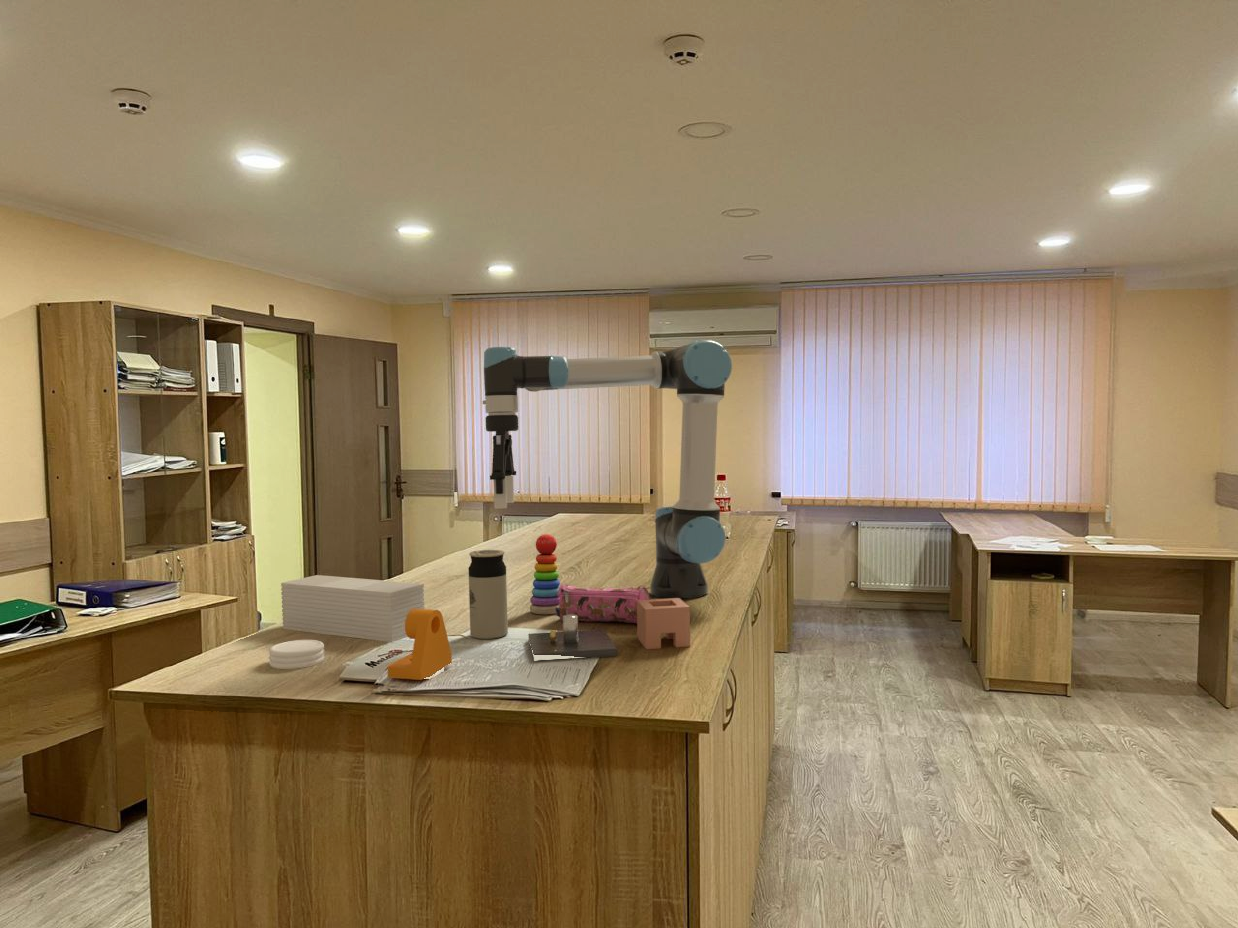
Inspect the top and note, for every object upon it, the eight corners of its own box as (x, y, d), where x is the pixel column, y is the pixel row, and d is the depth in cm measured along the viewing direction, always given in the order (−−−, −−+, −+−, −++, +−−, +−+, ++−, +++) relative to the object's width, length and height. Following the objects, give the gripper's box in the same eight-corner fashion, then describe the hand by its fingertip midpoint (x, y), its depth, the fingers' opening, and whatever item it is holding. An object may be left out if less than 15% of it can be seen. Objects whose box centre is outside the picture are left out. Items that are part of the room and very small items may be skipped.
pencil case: (552, 625, 191) (551, 586, 190) (567, 616, 200) (566, 578, 199) (644, 629, 185) (643, 589, 184) (655, 620, 193) (654, 581, 193)
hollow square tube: (679, 635, 178) (678, 597, 178) (690, 646, 169) (689, 606, 169) (637, 638, 177) (636, 600, 176) (646, 649, 168) (645, 609, 167)
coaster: (296, 654, 170) (295, 637, 170) (335, 658, 167) (335, 641, 166) (257, 667, 161) (257, 649, 161) (298, 672, 157) (297, 654, 157)
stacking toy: (558, 615, 199) (556, 536, 198) (525, 614, 201) (523, 536, 200) (566, 608, 207) (564, 532, 206) (535, 607, 209) (533, 532, 208)
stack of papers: (282, 629, 192) (281, 582, 192) (318, 619, 202) (317, 574, 201) (392, 643, 178) (390, 592, 177) (425, 631, 187) (423, 583, 187)
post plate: (528, 640, 176) (527, 609, 176) (604, 636, 179) (603, 605, 179) (533, 661, 161) (533, 627, 160) (616, 656, 163) (616, 622, 163)
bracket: (417, 664, 160) (415, 602, 160) (451, 667, 158) (449, 603, 158) (385, 681, 150) (383, 614, 150) (421, 684, 148) (419, 616, 147)
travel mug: (507, 629, 187) (504, 548, 186) (508, 638, 179) (506, 553, 178) (470, 631, 185) (468, 550, 184) (470, 640, 177) (467, 555, 177)
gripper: (493, 415, 209) (496, 501, 210) (476, 414, 184) (479, 511, 185) (523, 414, 209) (526, 500, 210) (511, 413, 184) (514, 510, 185)
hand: (504, 505), depth 197 cm, fingers open, 13 cm apart
